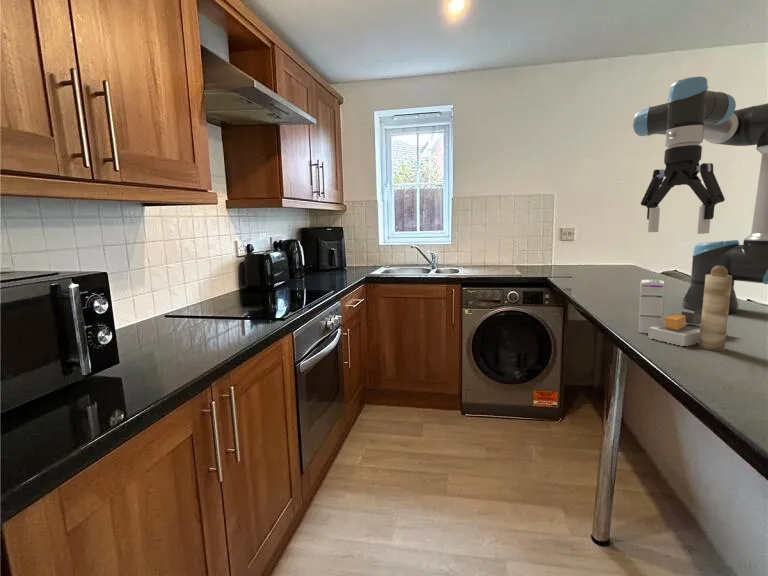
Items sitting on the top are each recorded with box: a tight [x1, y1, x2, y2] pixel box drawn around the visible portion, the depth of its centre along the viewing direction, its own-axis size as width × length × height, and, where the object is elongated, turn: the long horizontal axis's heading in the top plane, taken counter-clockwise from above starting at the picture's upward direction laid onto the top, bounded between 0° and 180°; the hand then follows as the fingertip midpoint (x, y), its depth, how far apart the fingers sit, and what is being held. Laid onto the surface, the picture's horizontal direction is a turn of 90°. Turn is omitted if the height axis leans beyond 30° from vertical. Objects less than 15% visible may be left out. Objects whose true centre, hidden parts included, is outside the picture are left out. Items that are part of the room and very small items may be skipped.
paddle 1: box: [664, 313, 686, 330], centre depth 108 cm, size 4×3×3 cm
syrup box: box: [637, 279, 666, 334], centre depth 117 cm, size 6×6×14 cm
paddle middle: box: [680, 311, 702, 325], centre depth 111 cm, size 4×3×3 cm
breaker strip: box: [647, 321, 730, 347], centre depth 111 cm, size 20×9×3 cm, turn 116°
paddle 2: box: [693, 309, 702, 317], centre depth 113 cm, size 4×3×3 cm
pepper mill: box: [698, 266, 732, 352], centre depth 101 cm, size 5×5×20 cm
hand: (676, 232), depth 106 cm, fingers open, 13 cm apart
